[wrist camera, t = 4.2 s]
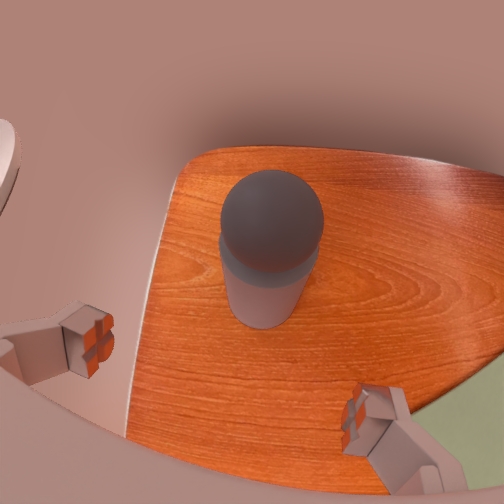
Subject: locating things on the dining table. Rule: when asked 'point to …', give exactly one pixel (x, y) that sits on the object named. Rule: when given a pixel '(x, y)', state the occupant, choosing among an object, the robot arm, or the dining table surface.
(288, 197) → the ball
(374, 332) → the dining table surface
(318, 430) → the dining table surface
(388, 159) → the dining table surface
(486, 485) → the mat
